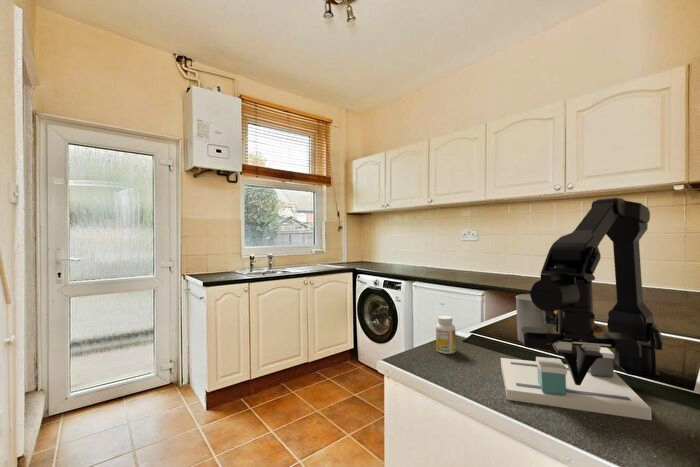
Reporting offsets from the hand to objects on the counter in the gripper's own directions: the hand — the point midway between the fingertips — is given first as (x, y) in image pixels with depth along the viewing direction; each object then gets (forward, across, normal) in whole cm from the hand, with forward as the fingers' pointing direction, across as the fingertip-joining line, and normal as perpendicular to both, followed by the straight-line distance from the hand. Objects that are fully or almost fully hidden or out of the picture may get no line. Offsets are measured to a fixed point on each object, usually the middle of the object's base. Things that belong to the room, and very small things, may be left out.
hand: (577, 384), depth 64 cm
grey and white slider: (+1, -7, -12) cm, 14 cm away
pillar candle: (+4, +2, -39) cm, 39 cm away
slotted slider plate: (+4, +1, -6) cm, 7 cm away
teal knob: (+1, +4, 0) cm, 5 cm away
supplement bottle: (+4, +27, -22) cm, 35 cm away
